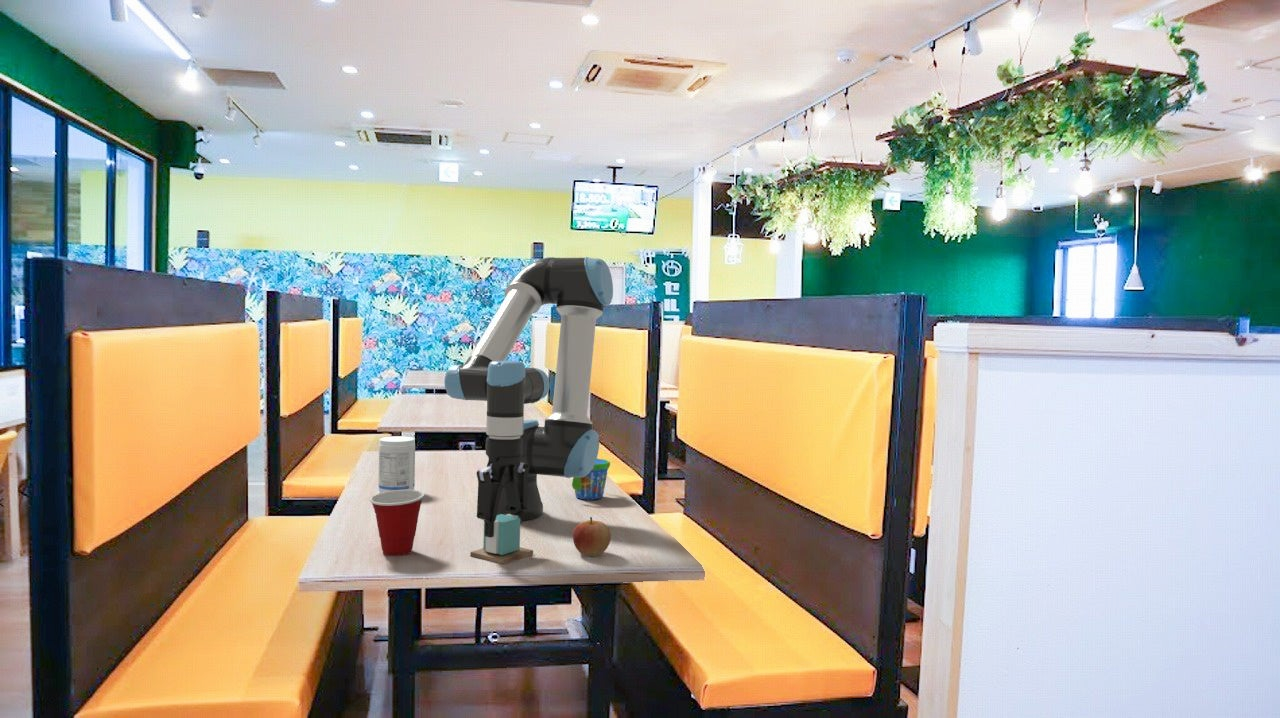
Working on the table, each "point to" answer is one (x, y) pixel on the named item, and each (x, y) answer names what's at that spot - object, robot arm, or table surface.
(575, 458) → the robot arm
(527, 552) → the peg stand
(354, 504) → the table surface
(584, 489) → the snack cup
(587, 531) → the apple
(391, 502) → the plastic cup
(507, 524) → the teal rectangular block
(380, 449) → the supplement tub
